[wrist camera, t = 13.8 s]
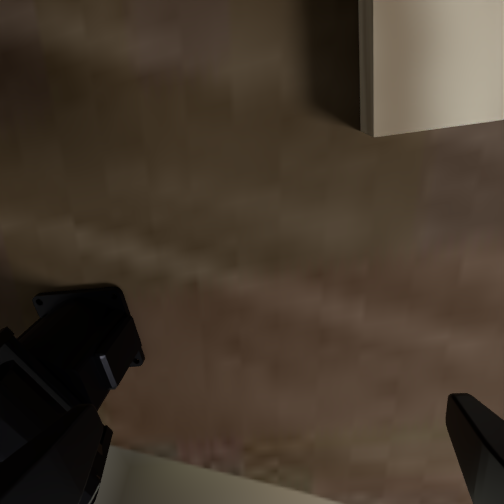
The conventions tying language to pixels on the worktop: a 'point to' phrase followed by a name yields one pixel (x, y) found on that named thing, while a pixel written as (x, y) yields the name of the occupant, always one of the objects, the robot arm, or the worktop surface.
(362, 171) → the worktop surface
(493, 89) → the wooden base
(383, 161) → the worktop surface
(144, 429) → the worktop surface
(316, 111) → the worktop surface
